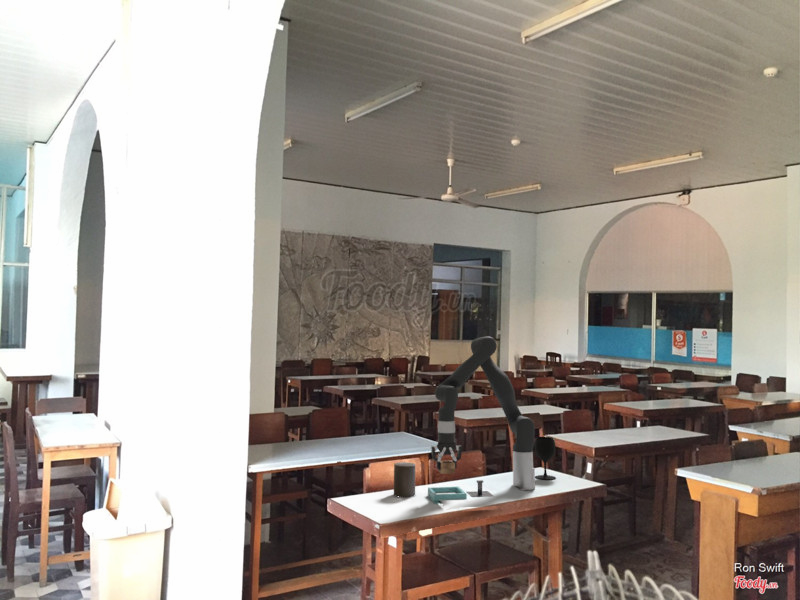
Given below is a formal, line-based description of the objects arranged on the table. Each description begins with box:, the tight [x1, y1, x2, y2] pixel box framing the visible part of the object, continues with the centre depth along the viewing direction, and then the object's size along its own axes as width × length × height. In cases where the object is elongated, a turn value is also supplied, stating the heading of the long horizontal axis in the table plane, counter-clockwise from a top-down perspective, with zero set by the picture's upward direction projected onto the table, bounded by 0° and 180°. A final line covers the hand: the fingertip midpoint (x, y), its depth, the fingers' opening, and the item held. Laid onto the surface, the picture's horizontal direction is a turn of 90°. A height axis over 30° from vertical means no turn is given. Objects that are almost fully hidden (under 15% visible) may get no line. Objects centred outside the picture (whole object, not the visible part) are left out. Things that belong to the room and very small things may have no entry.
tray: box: [427, 486, 468, 504], centre depth 279 cm, size 14×14×4 cm
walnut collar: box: [437, 460, 456, 475], centre depth 279 cm, size 6×6×4 cm
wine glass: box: [533, 436, 557, 481], centre depth 322 cm, size 10×10×20 cm
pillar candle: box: [393, 461, 417, 498], centre depth 286 cm, size 10×10×15 cm
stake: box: [466, 479, 494, 498], centre depth 281 cm, size 10×10×7 cm
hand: (446, 469), depth 279 cm, fingers closed on walnut collar, 6 cm apart
